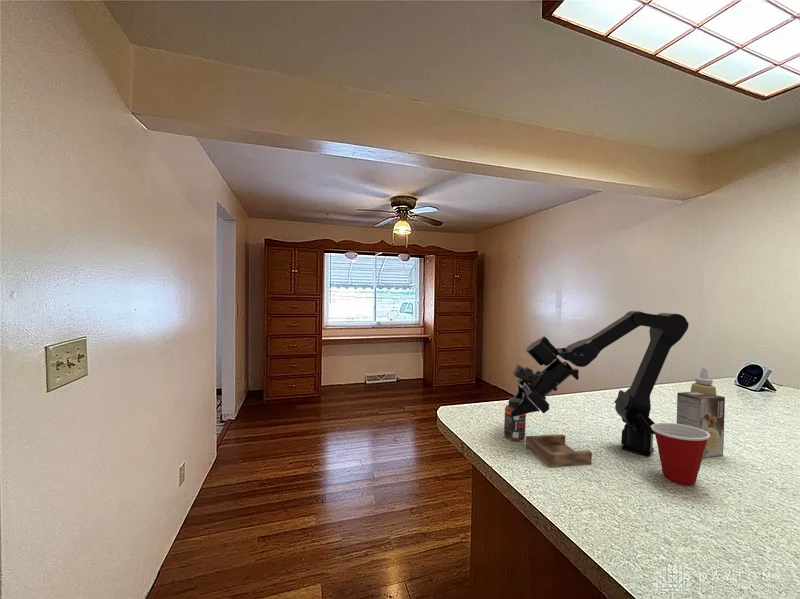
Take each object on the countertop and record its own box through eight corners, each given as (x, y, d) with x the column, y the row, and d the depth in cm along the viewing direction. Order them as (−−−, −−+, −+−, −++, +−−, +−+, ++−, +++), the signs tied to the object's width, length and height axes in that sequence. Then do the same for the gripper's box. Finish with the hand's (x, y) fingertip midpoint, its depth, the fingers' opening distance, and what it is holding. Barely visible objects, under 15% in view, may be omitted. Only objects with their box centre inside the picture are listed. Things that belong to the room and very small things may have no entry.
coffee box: (698, 445, 100) (700, 390, 100) (724, 455, 94) (726, 397, 94) (674, 448, 98) (676, 392, 98) (699, 458, 92) (701, 398, 92)
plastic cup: (650, 463, 88) (652, 416, 88) (706, 478, 81) (709, 428, 81) (646, 480, 80) (649, 428, 80) (709, 498, 73) (712, 442, 73)
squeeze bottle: (723, 423, 120) (726, 371, 120) (700, 422, 120) (702, 370, 120) (703, 415, 128) (705, 366, 128) (681, 414, 128) (683, 366, 128)
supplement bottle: (521, 443, 98) (522, 404, 98) (500, 438, 101) (502, 399, 101) (527, 437, 103) (529, 399, 102) (508, 432, 106) (509, 395, 106)
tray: (562, 444, 98) (562, 434, 98) (591, 464, 87) (591, 452, 87) (525, 446, 96) (525, 436, 96) (550, 467, 85) (551, 455, 85)
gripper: (525, 351, 110) (488, 383, 112) (537, 362, 92) (493, 400, 94) (550, 377, 109) (513, 409, 111) (568, 394, 91) (523, 431, 93)
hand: (510, 411), depth 102 cm, fingers closed on supplement bottle, 6 cm apart
